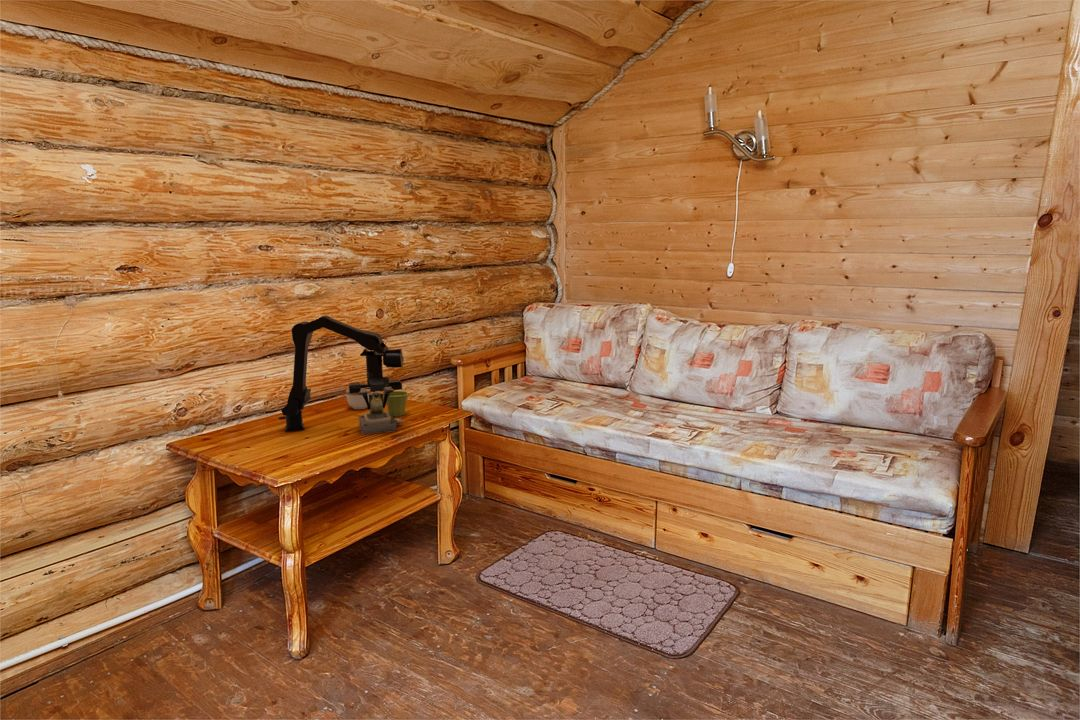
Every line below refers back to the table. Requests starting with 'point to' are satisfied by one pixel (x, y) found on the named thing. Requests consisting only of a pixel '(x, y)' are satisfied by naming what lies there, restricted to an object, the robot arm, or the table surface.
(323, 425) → the table surface
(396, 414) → the plant pot
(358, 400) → the lidded jar
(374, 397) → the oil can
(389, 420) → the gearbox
